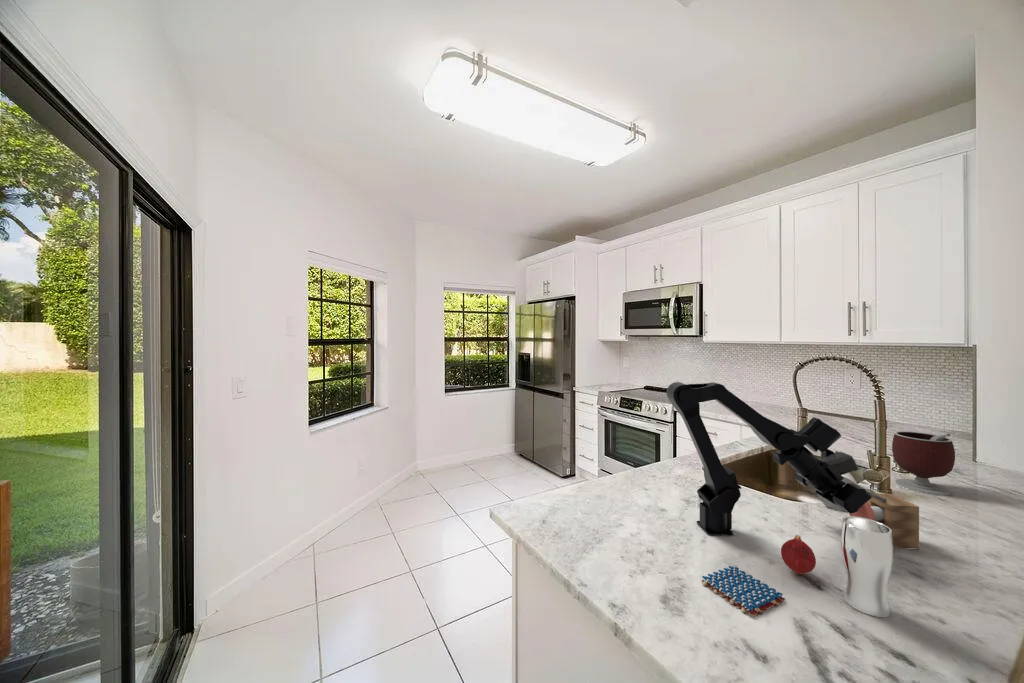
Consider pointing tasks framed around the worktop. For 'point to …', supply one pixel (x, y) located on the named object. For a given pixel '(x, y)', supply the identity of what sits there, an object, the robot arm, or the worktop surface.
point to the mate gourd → (923, 459)
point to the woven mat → (743, 590)
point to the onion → (798, 556)
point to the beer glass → (867, 564)
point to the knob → (870, 512)
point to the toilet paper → (847, 479)
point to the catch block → (899, 519)
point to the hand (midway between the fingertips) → (855, 510)
